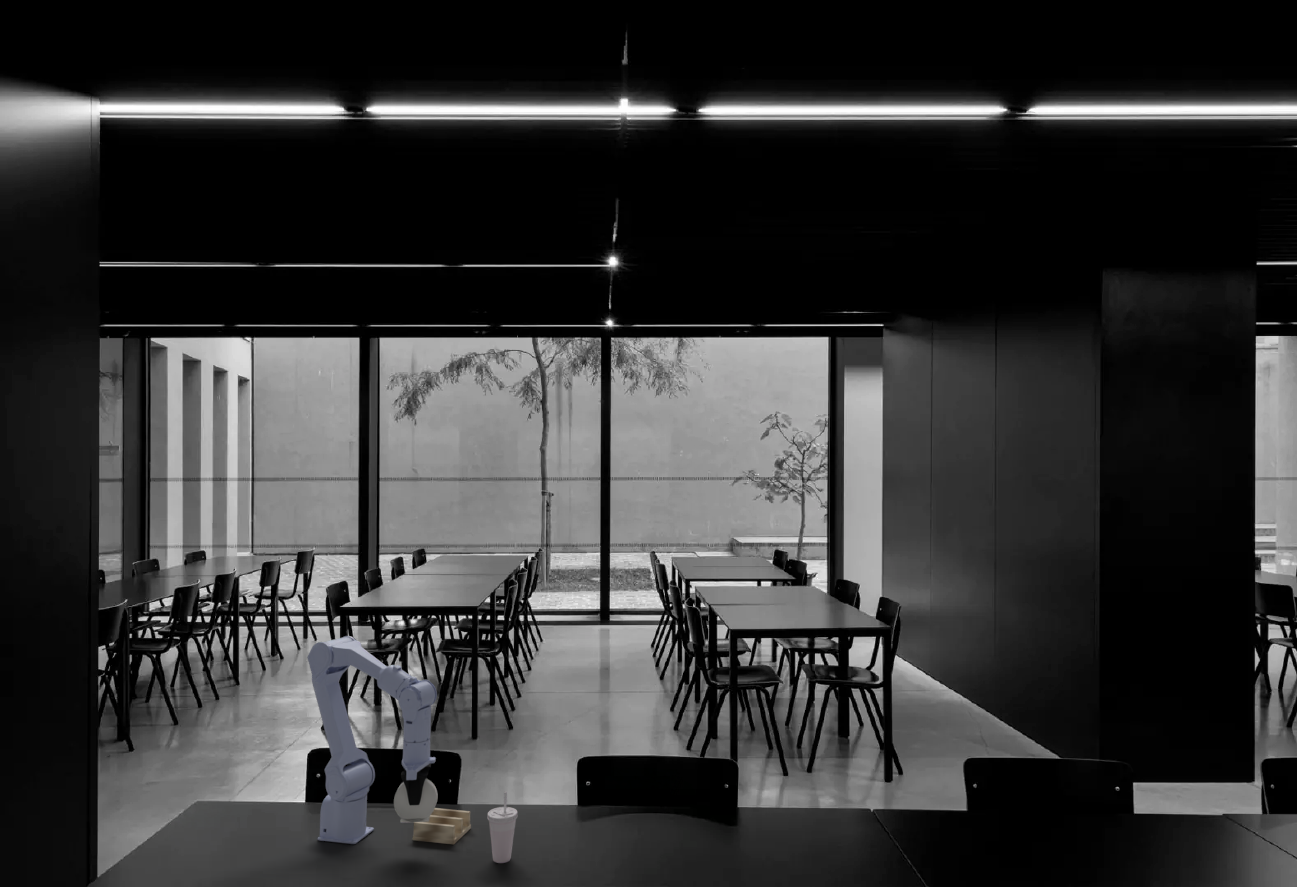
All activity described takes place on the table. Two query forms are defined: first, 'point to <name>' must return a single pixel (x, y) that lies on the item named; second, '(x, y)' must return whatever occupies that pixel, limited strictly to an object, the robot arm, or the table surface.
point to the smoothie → (502, 831)
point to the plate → (416, 811)
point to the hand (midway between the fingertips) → (415, 802)
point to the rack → (443, 826)
